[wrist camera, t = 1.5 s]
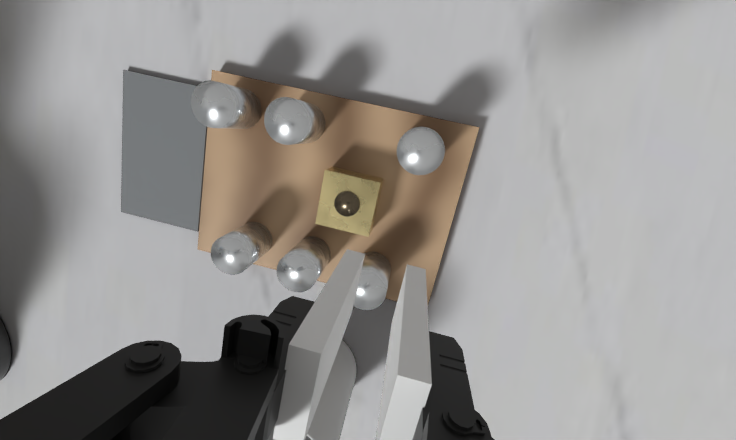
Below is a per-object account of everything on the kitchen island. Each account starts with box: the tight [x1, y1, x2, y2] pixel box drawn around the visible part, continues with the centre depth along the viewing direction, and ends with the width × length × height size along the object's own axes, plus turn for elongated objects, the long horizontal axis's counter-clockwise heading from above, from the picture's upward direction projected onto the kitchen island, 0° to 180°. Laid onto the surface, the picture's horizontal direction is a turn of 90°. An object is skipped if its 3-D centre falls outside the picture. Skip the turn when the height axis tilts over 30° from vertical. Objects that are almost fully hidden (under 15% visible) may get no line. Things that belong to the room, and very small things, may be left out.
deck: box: [198, 70, 479, 304], centre depth 30 cm, size 22×16×1 cm
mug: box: [268, 340, 356, 440], centre depth 30 cm, size 12×8×11 cm
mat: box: [121, 70, 207, 231], centre depth 32 cm, size 8×13×1 cm, turn 168°
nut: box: [315, 167, 384, 237], centre depth 28 cm, size 4×4×3 cm
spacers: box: [191, 81, 445, 310], centre depth 27 cm, size 18×14×4 cm
